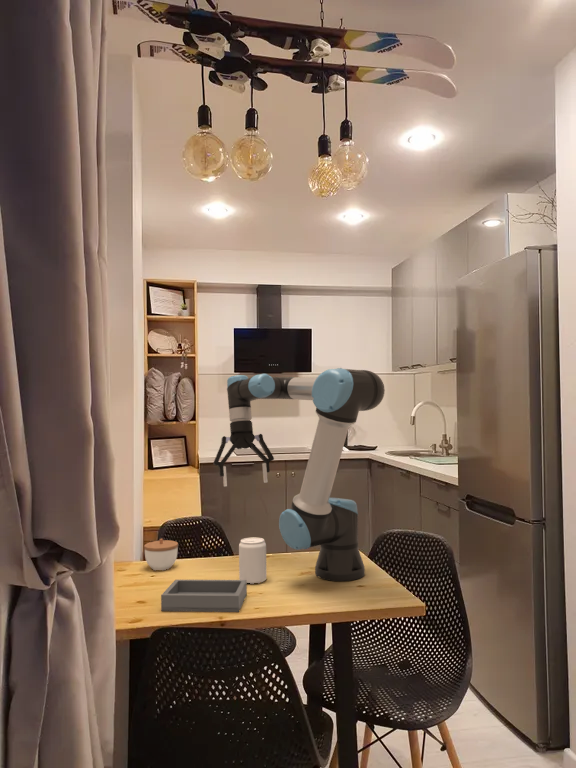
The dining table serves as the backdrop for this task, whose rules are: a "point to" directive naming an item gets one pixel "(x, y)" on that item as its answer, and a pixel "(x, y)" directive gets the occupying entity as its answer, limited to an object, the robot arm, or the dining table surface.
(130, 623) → the dining table surface
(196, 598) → the parts tray
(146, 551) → the lidded jar
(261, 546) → the beverage can
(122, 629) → the dining table surface
